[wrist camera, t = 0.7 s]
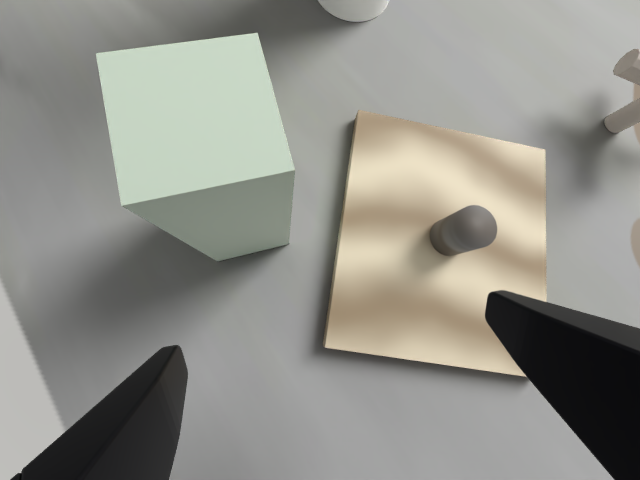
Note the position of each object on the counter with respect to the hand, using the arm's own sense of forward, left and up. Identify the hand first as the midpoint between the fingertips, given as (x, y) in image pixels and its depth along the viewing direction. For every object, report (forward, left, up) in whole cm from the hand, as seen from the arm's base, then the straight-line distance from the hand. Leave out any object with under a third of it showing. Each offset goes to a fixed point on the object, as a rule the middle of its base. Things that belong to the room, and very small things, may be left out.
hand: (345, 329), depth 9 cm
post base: (+7, -9, -13) cm, 18 cm away
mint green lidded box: (+6, +6, -13) cm, 16 cm away
